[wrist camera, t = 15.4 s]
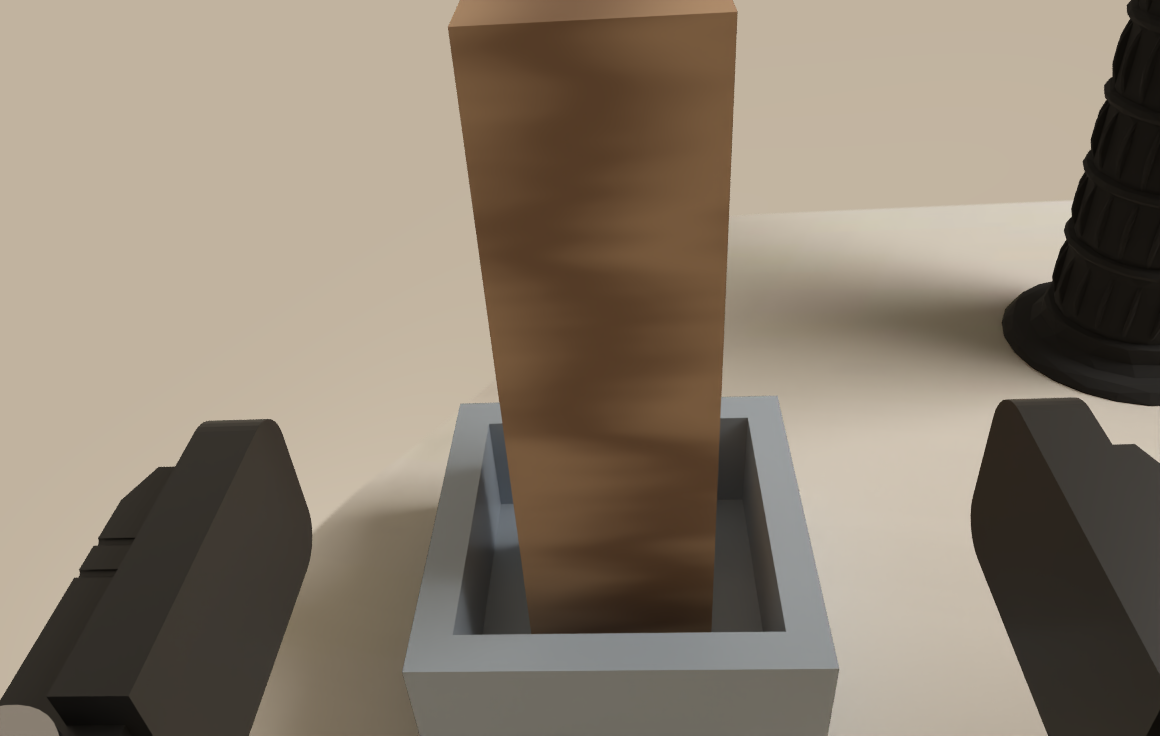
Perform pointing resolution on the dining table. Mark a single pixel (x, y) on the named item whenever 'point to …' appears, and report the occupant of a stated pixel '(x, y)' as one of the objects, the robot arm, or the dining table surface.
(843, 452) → the dining table surface
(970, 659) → the dining table surface
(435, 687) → the box
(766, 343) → the dining table surface
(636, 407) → the walnut handle block
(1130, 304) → the handle grip
